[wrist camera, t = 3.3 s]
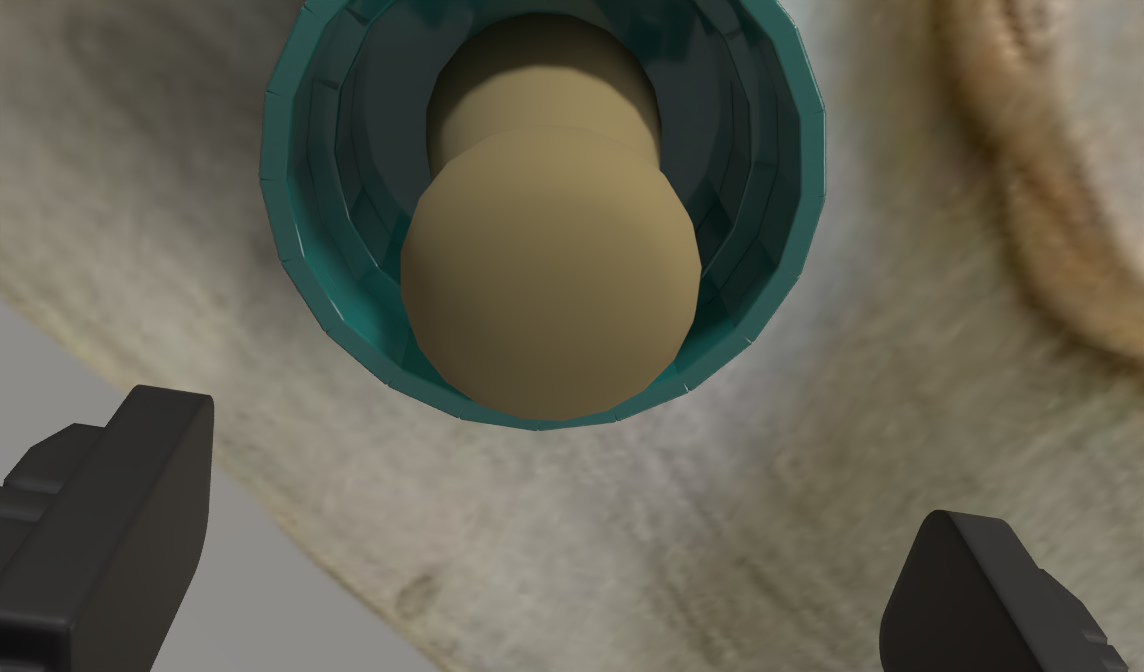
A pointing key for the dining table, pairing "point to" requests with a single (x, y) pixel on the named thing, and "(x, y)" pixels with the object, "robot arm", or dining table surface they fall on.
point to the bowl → (401, 175)
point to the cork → (547, 225)
